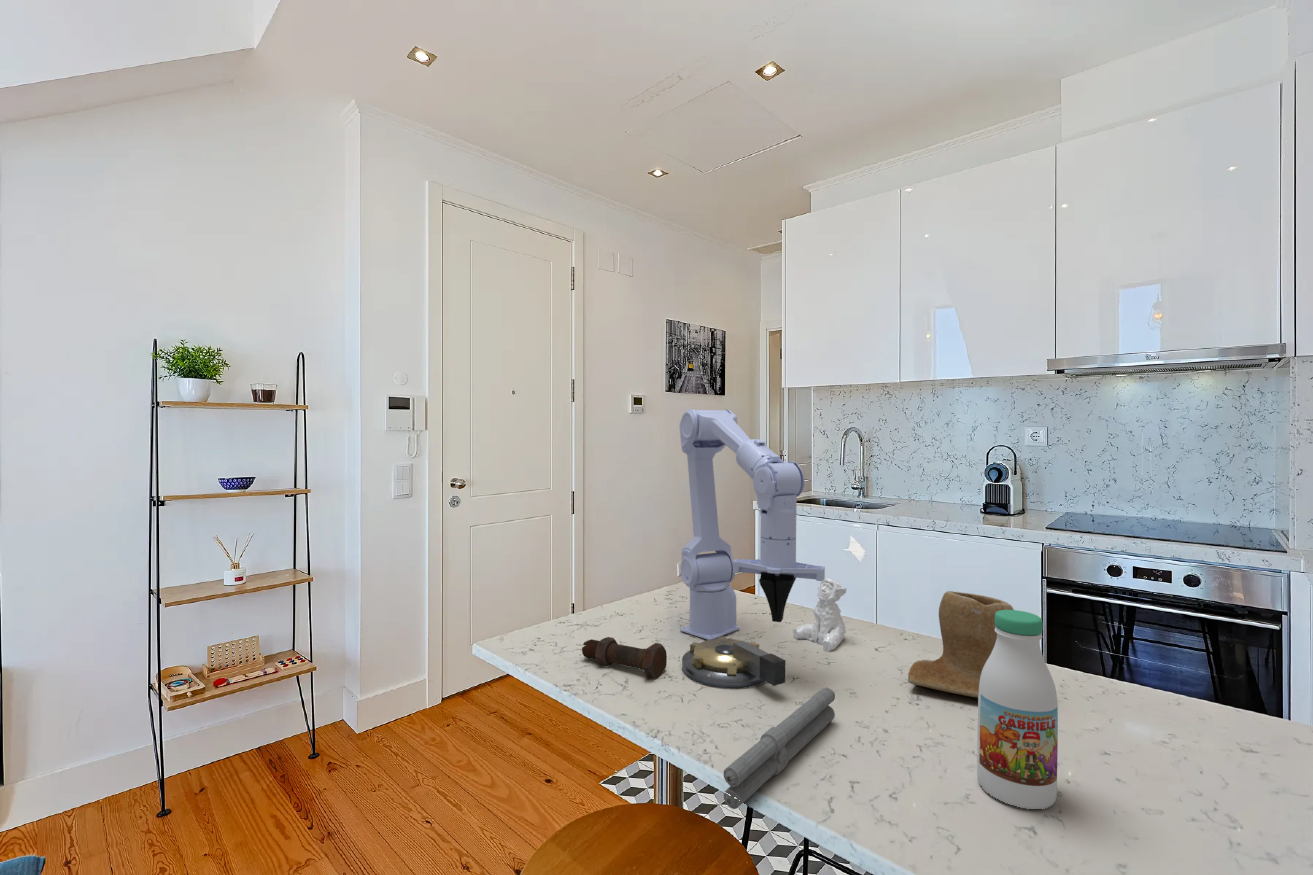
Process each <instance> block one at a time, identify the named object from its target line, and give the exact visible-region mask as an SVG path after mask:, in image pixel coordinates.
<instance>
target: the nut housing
mask: <svg viewBox="0 0 1313 875" xmlns="http://www.w3.org/2000/svg"><path fill="white" fill-rule="evenodd" d="M692 656H694V654H691V653H690V649H689V650H688V651H686V652H685V653H684V654H683V656H682V658H681V670H682V673H683V674H684V676H686V677H687V678H688V679H689V680H691V681H693V682H695V683H698V684H700V685H703V686H707V687H712V688H717V689H725V690H726V689H729V690H730V689H731V690H732V689H734V690H735V689H746V688H747V689H748V688H752V687H756V686H759V685H762V684H763V683H764V684H765V683H767V682H766V681H764V680H762V679H760V677H759V676H757V675H755V674H753V673H752V672H750V671H744V672H736V675H727V672H717V671H712V670H709V669H706V668H703V667H701V668H695V667H694V666H692Z"/></svg>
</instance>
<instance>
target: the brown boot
mask: <svg viewBox="0 0 1313 875" xmlns="http://www.w3.org/2000/svg"><path fill="white" fill-rule="evenodd" d="M1000 610H1015V609H1014V607H1013V606H1012V605H1011V604H1010V603H1008V602H1006V601H1004V600H1002V599H999V598H998V599H997V598H994V597H992V596H986V595H981V594H976V593H969V592H961V591H954V590H952V591H951V590H947V591H946V592H945V593H944V594H943V595H942V598H941V601H940V603H939V606H938V622H939V628H940V635H941V640H942V647H943V648H942V654H941V656H940V657H939V658H938V659H935V660H928V659H922V660H917V661H915V662H913V663H912V664H911V666H910V668H909V670H908V673H907V677H908V678H907V682H908V684H911V685H915V686H919V687H923V688H928V689H932V690H936V691H941V692H945V693H952V694H956V695H959V696H965V697H970V698H976V699H978V696H979V682H980V676H981V673H982V670H983V667H984V665H985V663H986V661H987V660H988V658H989V656H990V655H991V653H992V651H993V648H994V646H995V643H996V639H997V633H996V632H995V613H996V612H997V611H1000Z"/></svg>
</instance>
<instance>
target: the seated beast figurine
mask: <svg viewBox="0 0 1313 875" xmlns="http://www.w3.org/2000/svg"><path fill="white" fill-rule="evenodd" d="M846 593H847V587H842V585H841V584H840V583H839V581H835V579H832V578H829V577H825V578H824V580H823V581H820V583H819V586H818V588H817V596H818V599H819V600H818V602H817V603H816V606H815V607H814V608H813V609H812V613H813V615H814V618H813V619H814V622H813V623H808V624H800V625H799V626H797V627H793V629H792V633H793V637H794V638H795V639H796V640H807V641H811V642H813V643H818V645H820V646H822V648H823V651H825V652H832V651H835V650H836V648H837V647H838V646H840V644H841V643H842V640H844V638H845V633H846V632H847V630H846V625H845V623H844V620H843V618H842V616H841V612H842V611H841V609H840V607H839V605H838V604H837V603H836V602H838V601H840V599H841V597H843V596H844V595H845V594H846Z"/></svg>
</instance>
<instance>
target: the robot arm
mask: <svg viewBox="0 0 1313 875" xmlns="http://www.w3.org/2000/svg"><path fill="white" fill-rule="evenodd" d="M679 434H680V436H679V437H680V445H681V452H683V453H684V454H686V458H687V470H688V471H687V472H688V482H689V483H688V485H689V496H690V507H691V519H692V520H691V521H692V522H691V523H692V532H693V538H692V539H691V540H690V541H689V542H688V543H687V544H686V545H684V546H683V547H682V549H681V562H680V566H679V567H680V569H679V570H680V576H681V580H682V582H683V583H684V585H686V587H688V588H689V625H686V626H683V627H681V628H680V632H682V633H686V634H688V635H691V636H695V637H698V638H701V639H704V640H706V641H707V640H712V639H718V637H725V635H729V634H731V633H734V632H736V631H738V630H740V629H741V628H740V626H739V625H737V596H736V592H735V590H734V587H732V586H731V585H730V584H731V583H732V582H733V581H734V579H735V576H736V574H740V573H746V574H753V575H754V574H755V575H760V576H759V580H758V583H759V585H760V587H761V589H762V591H763V593H764V595H765V597H766V601H767V603H768V606H769V610H770V615H771V622H775V623H782V621H783V619H784V613H785V609H786V604H787V601H788V597H789V596H790V593H791V591H792V588H793V585H794V583H795V582H796V580H797V579H806V580H816V581H817V582H821V581H823V580H824V578H826V575H825V574H826V572H825V571H826V570H825V569H826V567H825V566H822V565H815V564H809V563H803V562H797V497H799V496H800V495H801V494H802V492H803V491H804V487H805V474H804V472H803V469H802V467H801V466H800V465H799V464H798V463H797V461H786V460H784V461H783V459H781V457H780V456H779V455H778V454H777V453H775V452H774V451H773V450H772V449H770V448H769V447H768V446H767V445H766V441H765V440H764V439H761V438H759V439H758V438H757V439H755V438H754V439H753V438H752V439H751V438H750V437H749V435H747V434H746V433H745V432H744V430H743V429H742V428H741V426H739V423H738V416H737V415H736V414H735V413H733V411H732V410H730V409H723V410H722V409H720V410H719V409H715V410H714V409H693V408H689V409H686V410H685V411H684V413H683V414H682V417H681V419H680V421H679ZM726 447H728V448H729V450H732V451H733V453H735V454H736V455H735V460H736V463H737V465H738V466H739V467H740V469H742V470H743V471H744V472H745V473H746V474H747V475H748V477H750V479H752V484H753V485H752V486H753V490H754V492H755V495H756V504H757V507H758V509H760V510H759V512H760V519H759V521H760V528H759V529H760V531H759V533H760V534H759V535H760V539H759V540H760V541H759V542H760V544H759V546H760V548H759V550H760V551H759V554H760V555H759V556H760V557H759V559H748V558H747V559H745V558H744V559H742V558H735V559H734V557H733V553H732V546H731V545H730V544H729V543H728V542H726V541H725V540H724V539H723V538H722V537H720V531H719V530H720V529H719V518H718V507H717V506H718V505H717V495H716V483H715V472H714V462H713V458H714V457H715V455H716V454H717V453H719V452H720V453H721V452H722V451H723V449H725V448H726ZM713 551H714V552H713ZM705 552H707V553H705ZM708 552H710V553H708ZM701 553H702V554H701Z"/></svg>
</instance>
